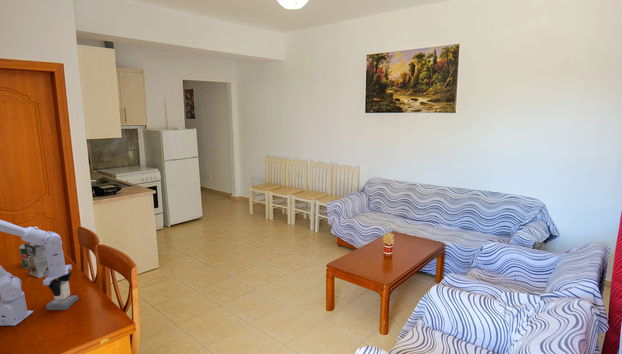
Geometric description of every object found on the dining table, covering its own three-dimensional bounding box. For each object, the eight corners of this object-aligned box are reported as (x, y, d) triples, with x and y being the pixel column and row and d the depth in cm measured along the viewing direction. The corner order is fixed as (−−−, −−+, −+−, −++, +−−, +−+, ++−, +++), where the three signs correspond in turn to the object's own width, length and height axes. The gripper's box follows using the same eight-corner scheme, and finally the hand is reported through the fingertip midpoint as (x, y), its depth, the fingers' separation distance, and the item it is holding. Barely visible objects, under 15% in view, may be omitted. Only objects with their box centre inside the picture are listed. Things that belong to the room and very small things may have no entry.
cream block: (64, 299, 152) (62, 285, 151) (54, 299, 152) (52, 285, 151) (70, 294, 156) (68, 281, 155) (61, 294, 156) (59, 281, 155)
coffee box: (28, 274, 182) (23, 243, 179) (43, 269, 188) (38, 239, 185) (38, 278, 178) (33, 247, 175) (53, 273, 184) (48, 242, 181)
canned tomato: (38, 260, 198) (35, 241, 196) (43, 264, 194) (40, 244, 191) (20, 265, 192) (17, 245, 190) (25, 269, 188) (21, 249, 185)
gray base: (66, 309, 151) (65, 305, 151) (46, 309, 151) (45, 305, 151) (78, 299, 159) (77, 295, 158) (59, 299, 159) (59, 295, 158)
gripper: (53, 270, 144) (58, 302, 147) (77, 255, 158) (81, 284, 161) (35, 270, 144) (41, 302, 147) (60, 255, 158) (65, 284, 161)
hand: (61, 292), depth 154 cm, fingers closed on cream block, 4 cm apart
